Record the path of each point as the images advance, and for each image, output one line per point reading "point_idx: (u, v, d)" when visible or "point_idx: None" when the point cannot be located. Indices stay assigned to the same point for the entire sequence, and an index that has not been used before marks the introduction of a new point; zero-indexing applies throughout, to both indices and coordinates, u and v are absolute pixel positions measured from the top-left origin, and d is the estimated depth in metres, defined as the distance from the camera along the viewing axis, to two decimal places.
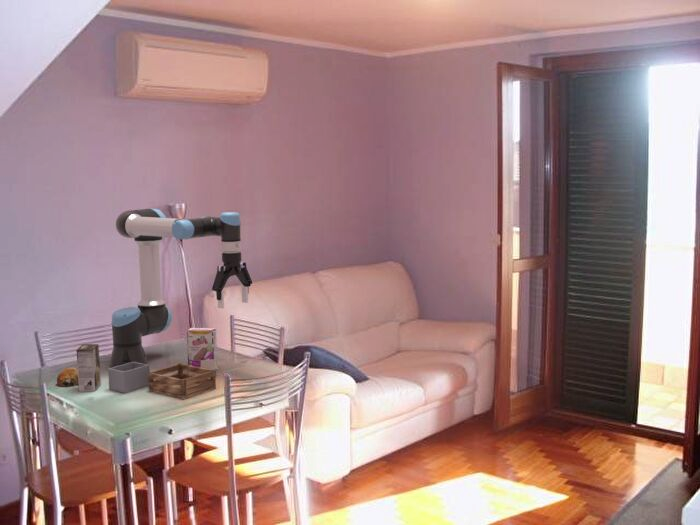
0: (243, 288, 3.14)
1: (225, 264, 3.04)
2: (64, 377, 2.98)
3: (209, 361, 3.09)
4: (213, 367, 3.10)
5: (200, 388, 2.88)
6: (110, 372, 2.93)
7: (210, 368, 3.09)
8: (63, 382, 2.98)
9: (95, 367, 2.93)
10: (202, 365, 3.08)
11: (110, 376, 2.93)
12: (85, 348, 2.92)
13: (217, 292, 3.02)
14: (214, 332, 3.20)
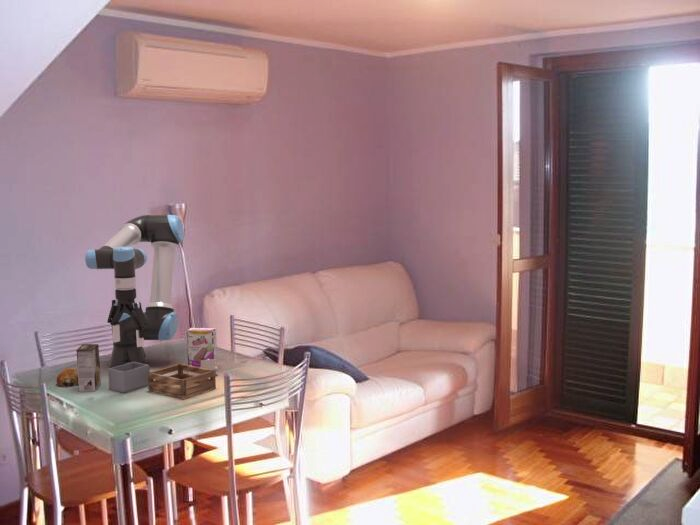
0: None
1: None
2: (64, 377, 2.98)
3: (209, 361, 3.09)
4: (213, 367, 3.10)
5: (200, 388, 2.88)
6: (110, 372, 2.93)
7: (210, 368, 3.10)
8: (63, 382, 2.98)
9: (95, 367, 2.93)
10: (202, 365, 3.08)
11: (110, 376, 2.93)
12: (85, 348, 2.92)
13: None
14: (214, 332, 3.20)
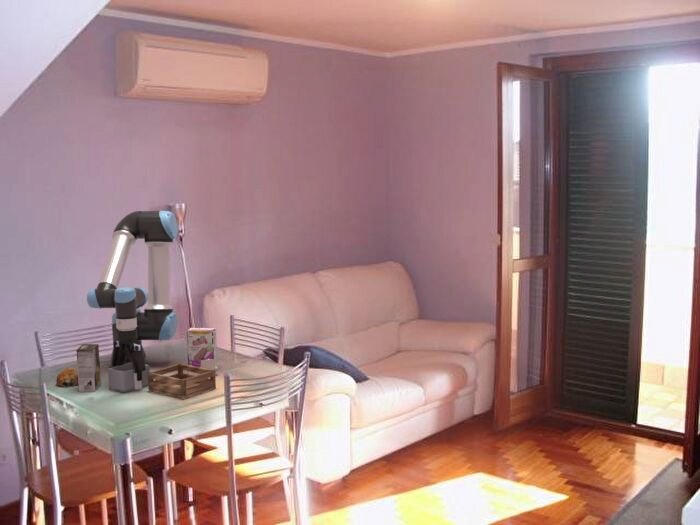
0: None
1: None
2: (64, 378, 2.98)
3: (209, 361, 3.09)
4: (213, 367, 3.10)
5: (200, 388, 2.88)
6: (110, 372, 2.93)
7: (210, 368, 3.10)
8: (63, 382, 2.98)
9: (95, 367, 2.93)
10: (202, 365, 3.08)
11: (110, 376, 2.93)
12: (85, 348, 2.92)
13: None
14: (214, 332, 3.20)
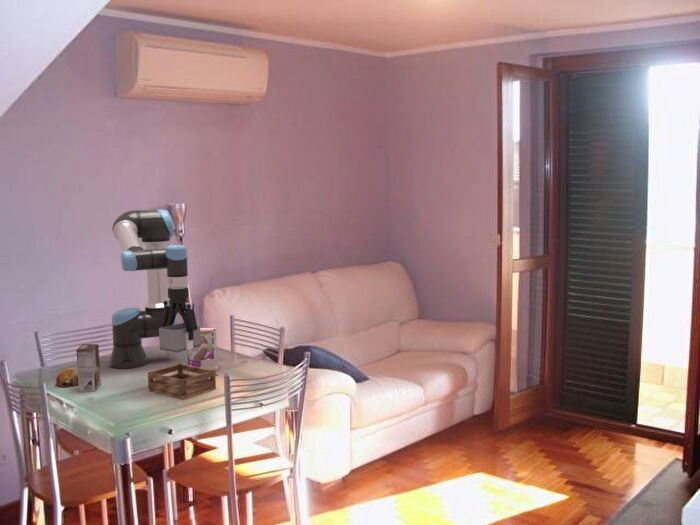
0: None
1: None
2: (63, 378, 2.98)
3: (209, 361, 3.09)
4: (213, 367, 3.10)
5: (200, 388, 2.88)
6: (161, 332, 2.87)
7: (210, 368, 3.10)
8: (62, 382, 2.98)
9: (95, 367, 2.93)
10: (202, 365, 3.08)
11: (161, 336, 2.87)
12: (85, 348, 2.92)
13: None
14: (214, 332, 3.20)
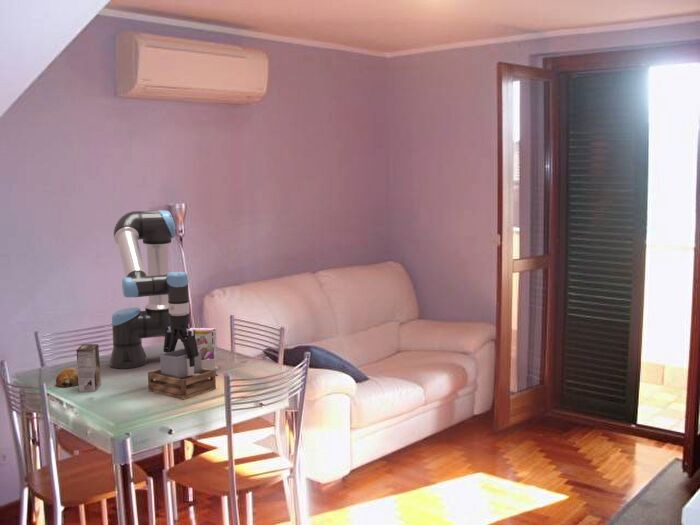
0: None
1: None
2: (63, 378, 2.98)
3: (209, 361, 3.09)
4: (213, 367, 3.10)
5: (200, 388, 2.88)
6: (162, 358, 2.88)
7: (210, 368, 3.10)
8: (62, 383, 2.98)
9: (95, 367, 2.93)
10: (202, 365, 3.08)
11: (162, 362, 2.89)
12: (85, 348, 2.92)
13: None
14: (214, 332, 3.20)
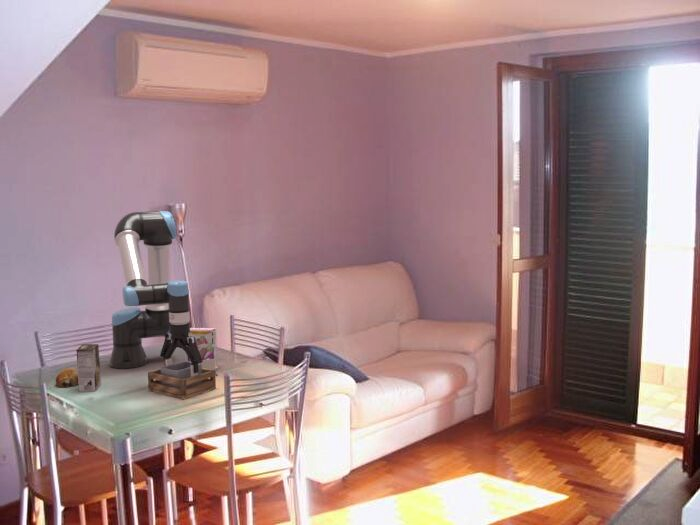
0: None
1: None
2: (63, 378, 2.98)
3: (209, 361, 3.09)
4: (213, 367, 3.10)
5: (200, 388, 2.88)
6: (162, 371, 2.89)
7: (210, 368, 3.10)
8: (62, 383, 2.98)
9: (95, 367, 2.93)
10: (202, 365, 3.08)
11: None
12: (85, 348, 2.92)
13: None
14: (214, 332, 3.20)
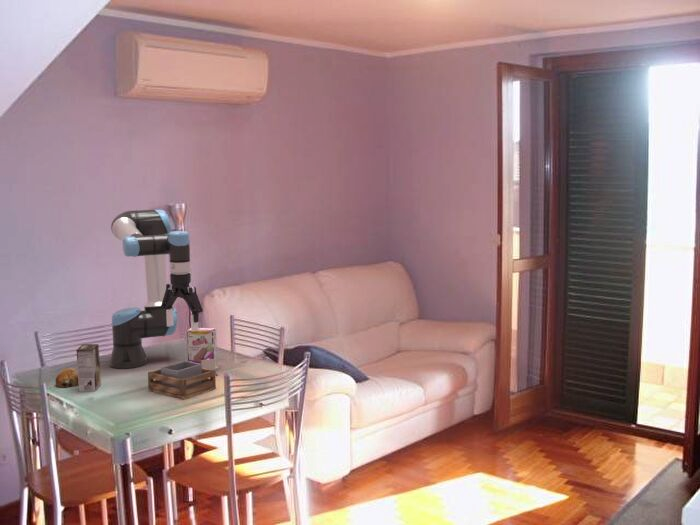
0: None
1: None
2: (63, 378, 2.97)
3: (209, 361, 3.09)
4: (213, 367, 3.10)
5: (200, 388, 2.88)
6: (162, 371, 2.89)
7: (210, 368, 3.10)
8: (62, 383, 2.97)
9: (95, 367, 2.93)
10: (202, 365, 3.08)
11: None
12: (85, 348, 2.92)
13: None
14: (214, 332, 3.20)
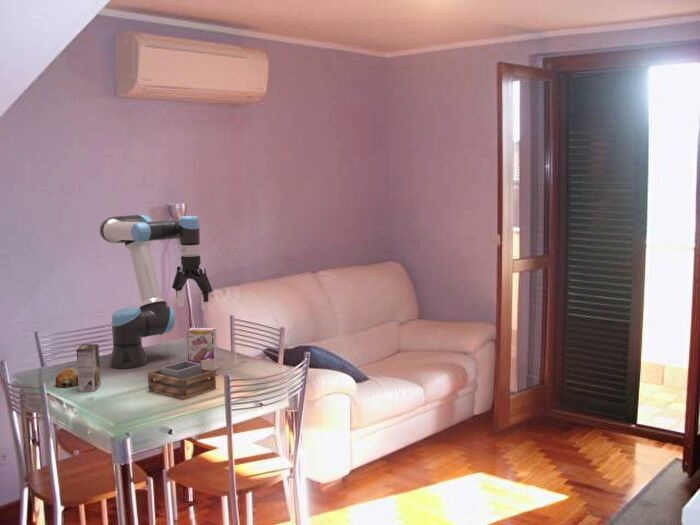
0: None
1: None
2: (63, 378, 2.97)
3: (209, 361, 3.09)
4: (213, 367, 3.10)
5: (200, 388, 2.88)
6: (162, 371, 2.89)
7: (210, 368, 3.10)
8: (62, 383, 2.97)
9: (95, 367, 2.93)
10: (203, 365, 3.08)
11: None
12: (85, 348, 2.92)
13: None
14: (214, 332, 3.20)
